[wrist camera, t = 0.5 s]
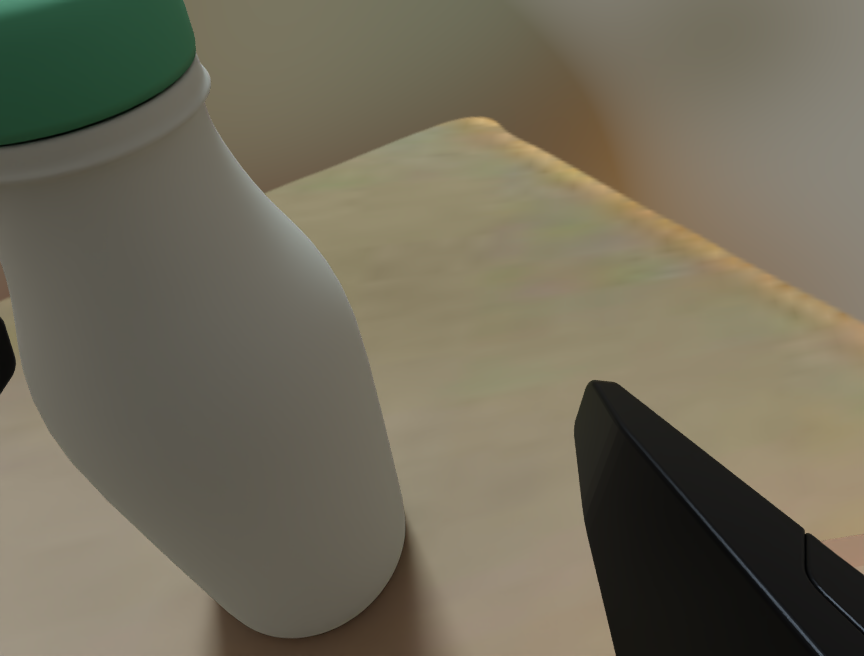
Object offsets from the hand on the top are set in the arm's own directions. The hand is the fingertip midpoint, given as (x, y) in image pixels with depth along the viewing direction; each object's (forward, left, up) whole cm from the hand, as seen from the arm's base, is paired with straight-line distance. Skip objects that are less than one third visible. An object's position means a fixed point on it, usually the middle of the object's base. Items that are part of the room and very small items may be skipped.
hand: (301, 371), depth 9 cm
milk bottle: (+4, +3, -15) cm, 16 cm away
